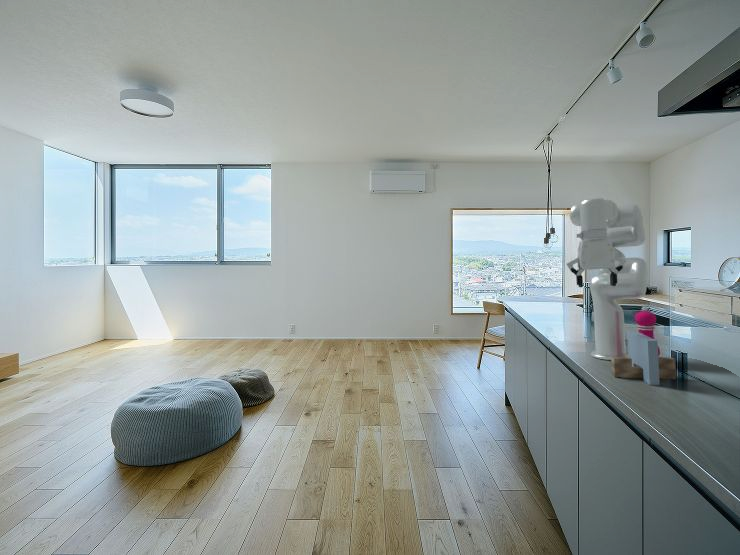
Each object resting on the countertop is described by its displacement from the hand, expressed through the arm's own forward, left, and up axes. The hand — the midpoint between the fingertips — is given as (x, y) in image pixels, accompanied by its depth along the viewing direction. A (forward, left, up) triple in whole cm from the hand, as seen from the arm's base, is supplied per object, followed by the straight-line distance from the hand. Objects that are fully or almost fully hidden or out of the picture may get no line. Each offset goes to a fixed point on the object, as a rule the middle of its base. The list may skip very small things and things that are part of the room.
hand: (596, 286), depth 122 cm
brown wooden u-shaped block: (+2, +12, -28) cm, 31 cm away
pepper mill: (-16, +10, -28) cm, 34 cm away
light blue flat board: (+2, +12, -28) cm, 31 cm away
